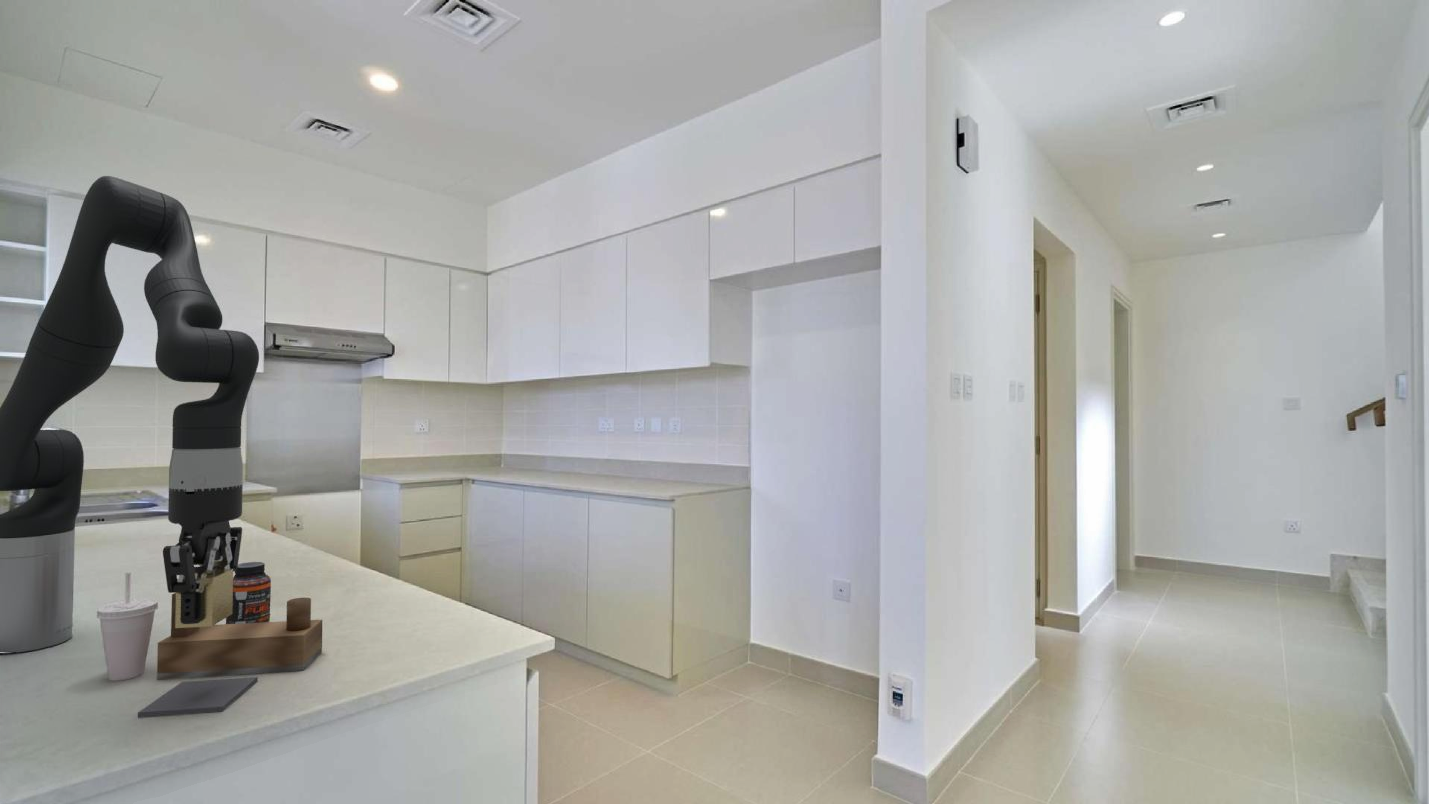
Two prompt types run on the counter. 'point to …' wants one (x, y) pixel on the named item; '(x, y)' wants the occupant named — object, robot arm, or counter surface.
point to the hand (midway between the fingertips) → (204, 615)
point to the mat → (199, 697)
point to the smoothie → (126, 634)
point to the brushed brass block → (212, 599)
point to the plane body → (241, 646)
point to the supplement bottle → (250, 594)
